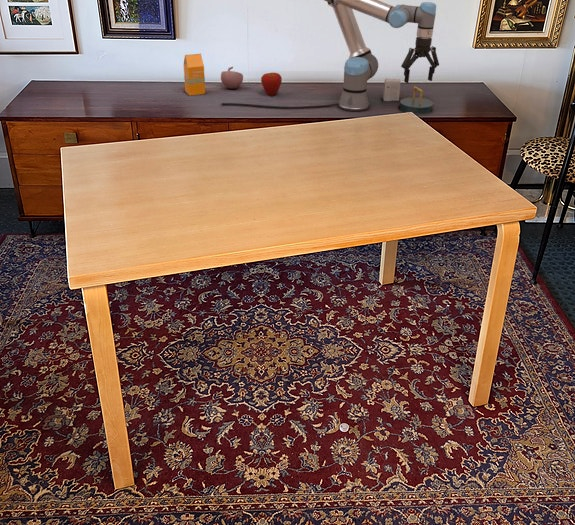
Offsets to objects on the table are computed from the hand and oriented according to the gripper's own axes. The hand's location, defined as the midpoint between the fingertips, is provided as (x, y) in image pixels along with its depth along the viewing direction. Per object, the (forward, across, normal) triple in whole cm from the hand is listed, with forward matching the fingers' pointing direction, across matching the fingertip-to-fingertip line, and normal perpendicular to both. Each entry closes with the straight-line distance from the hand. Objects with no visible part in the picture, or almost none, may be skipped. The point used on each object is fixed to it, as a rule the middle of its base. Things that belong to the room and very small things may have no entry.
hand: (418, 81), depth 316 cm
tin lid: (+10, -1, -3) cm, 11 cm away
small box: (+14, -5, +15) cm, 21 cm away
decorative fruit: (+15, -78, +61) cm, 100 cm away
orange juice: (+15, -99, +60) cm, 117 cm away
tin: (+13, -1, -3) cm, 14 cm away
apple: (+14, -62, +43) cm, 77 cm away
